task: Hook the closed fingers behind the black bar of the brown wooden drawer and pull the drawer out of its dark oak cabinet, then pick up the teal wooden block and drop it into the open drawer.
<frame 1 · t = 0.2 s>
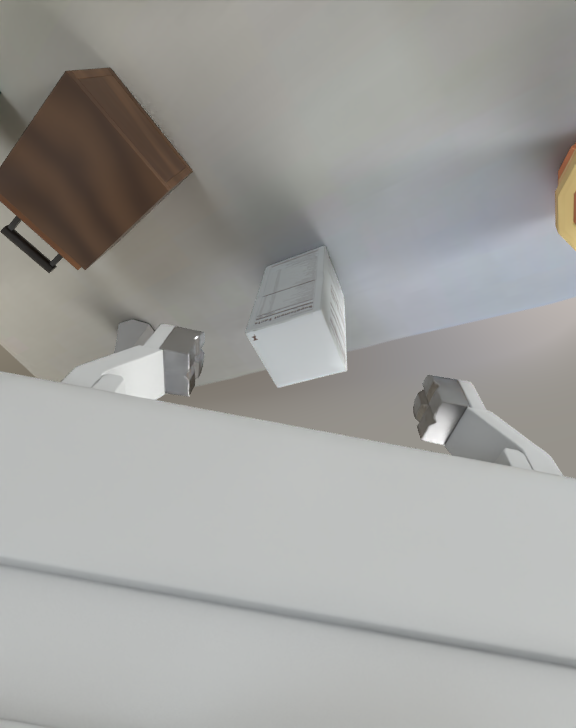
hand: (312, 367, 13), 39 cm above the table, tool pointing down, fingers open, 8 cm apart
drawer: (73, 202, 46), point 4 cm above the table, slide at 0.5 cm
cabinet: (113, 168, 47), on the table
supplement box: (306, 282, 54), on the table
flask: (140, 335, 65), on the table
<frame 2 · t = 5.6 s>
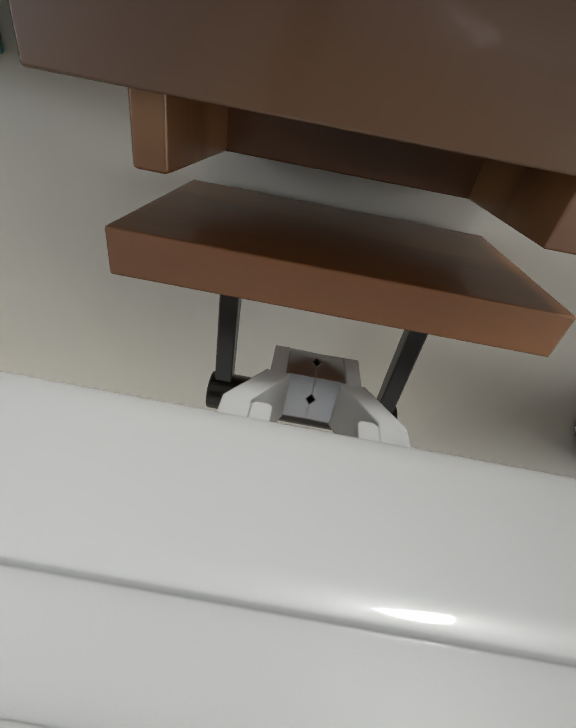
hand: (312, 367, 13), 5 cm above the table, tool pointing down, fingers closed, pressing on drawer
drawer: (375, 84, 9), point 4 cm above the table, slide at 2.8 cm, touching gripper
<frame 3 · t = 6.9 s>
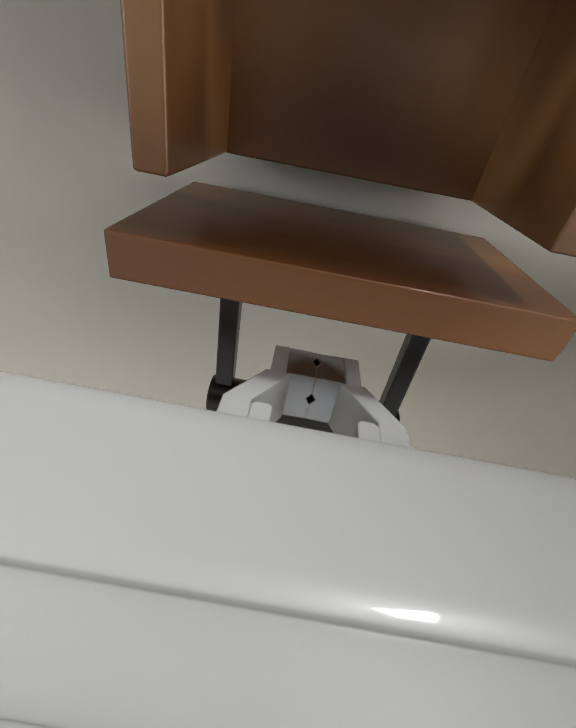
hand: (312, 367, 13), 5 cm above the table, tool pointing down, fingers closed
drawer: (378, 85, 9), point 4 cm above the table, slide at 8.5 cm
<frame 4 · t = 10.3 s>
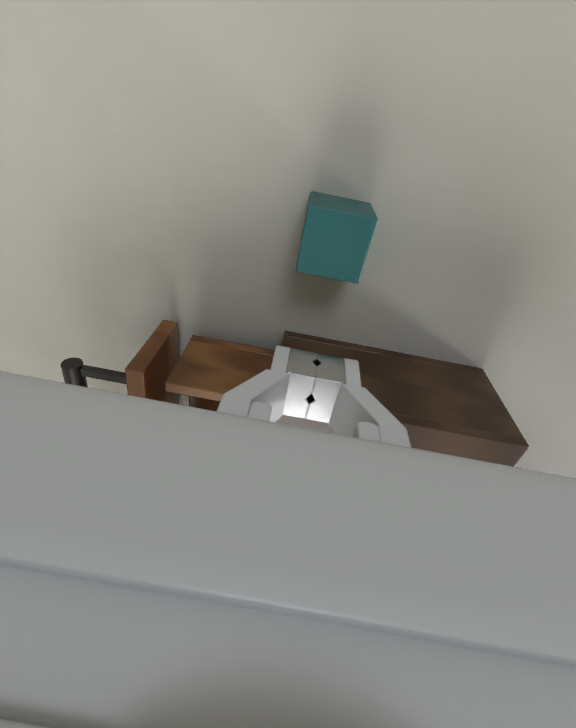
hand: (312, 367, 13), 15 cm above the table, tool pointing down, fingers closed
block: (333, 228, 25), on the table
drawer: (209, 411, 30), point 4 cm above the table, slide at 8.5 cm
cabinet: (362, 406, 34), on the table
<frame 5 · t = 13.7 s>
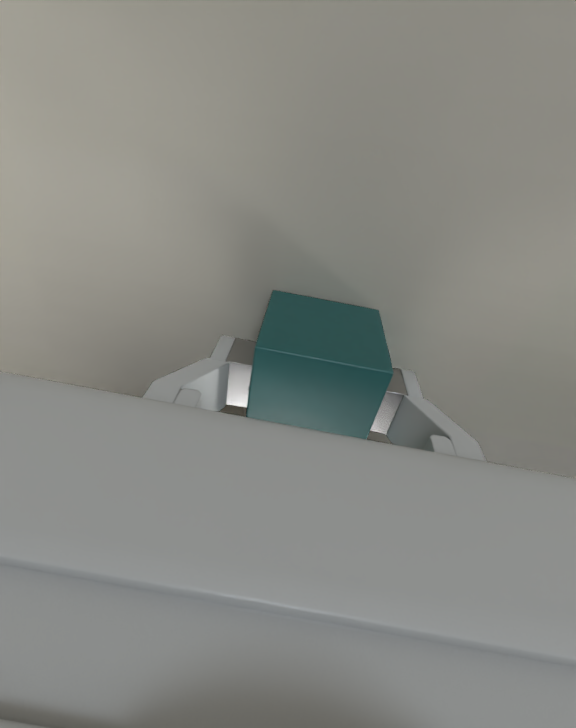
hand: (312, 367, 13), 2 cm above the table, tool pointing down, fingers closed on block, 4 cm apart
block: (315, 344, 15), on the table, touching gripper
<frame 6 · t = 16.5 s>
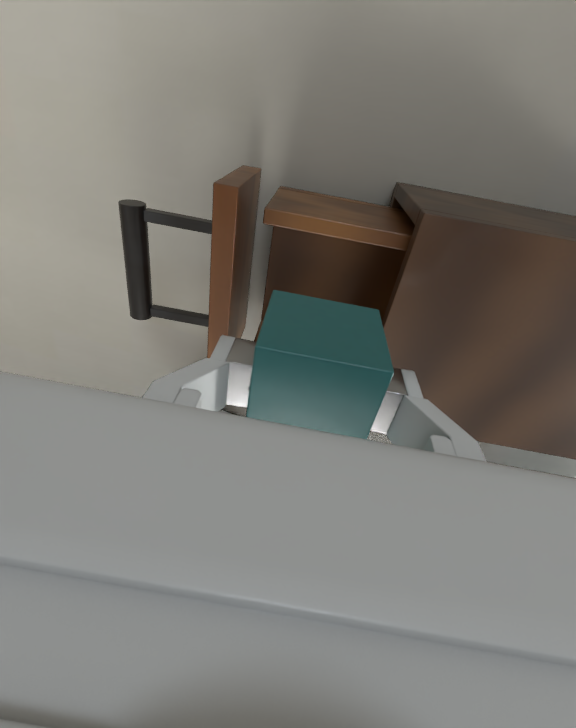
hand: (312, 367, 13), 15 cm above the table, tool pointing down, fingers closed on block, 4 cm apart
block: (315, 344, 15), point 14 cm above the table, touching gripper
drawer: (300, 286, 23), point 4 cm above the table, slide at 8.5 cm
cabinet: (479, 296, 27), on the table
when the fingers open (7 cm above the table, at t = 19.2 s): block drops 3 cm, resting on drawer.
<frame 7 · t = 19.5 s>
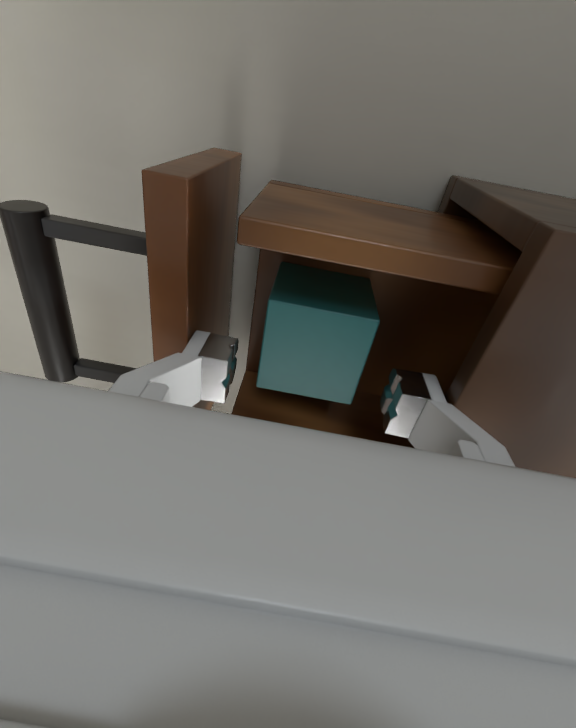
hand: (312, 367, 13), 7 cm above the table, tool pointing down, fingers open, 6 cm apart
block: (316, 310, 17), point 2 cm above the table, touching drawer
drawer: (301, 332, 15), point 4 cm above the table, slide at 8.6 cm, touching block, gripper
cabinet: (557, 339, 19), on the table
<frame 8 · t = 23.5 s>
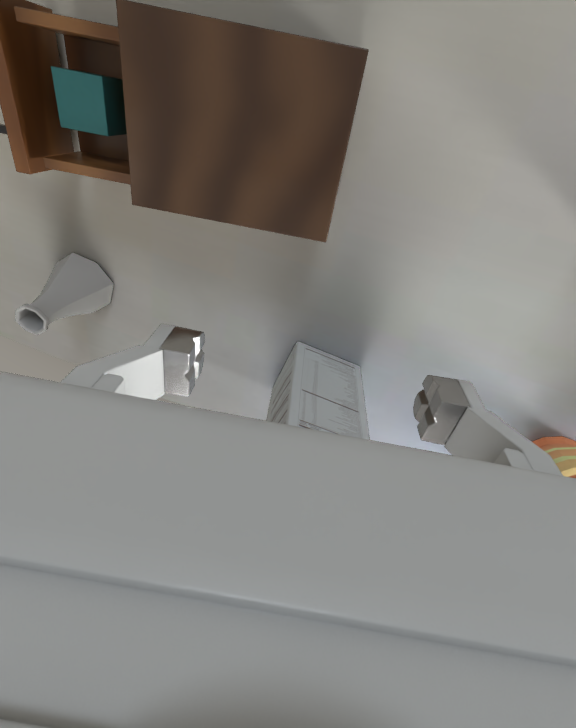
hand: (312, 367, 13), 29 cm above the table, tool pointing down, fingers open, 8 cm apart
block: (105, 103, 32), point 2 cm above the table, touching drawer
potted cactus: (545, 456, 54), on the table
drawer: (85, 102, 31), point 4 cm above the table, slide at 9.1 cm, touching block
cabinet: (254, 131, 34), on the table
supplement box: (315, 377, 50), on the table
flask: (86, 282, 45), on the table
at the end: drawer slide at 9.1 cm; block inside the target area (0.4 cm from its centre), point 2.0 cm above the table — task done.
